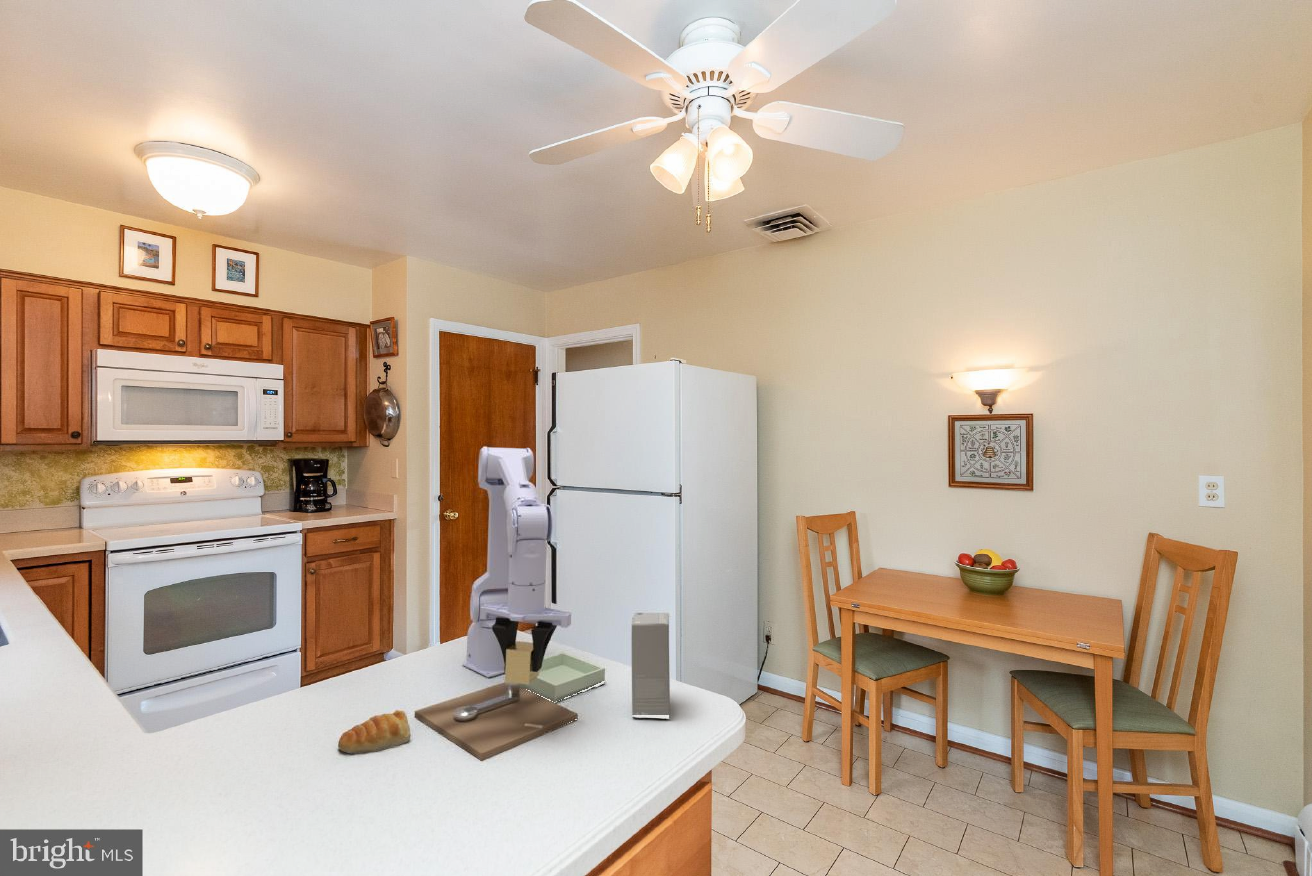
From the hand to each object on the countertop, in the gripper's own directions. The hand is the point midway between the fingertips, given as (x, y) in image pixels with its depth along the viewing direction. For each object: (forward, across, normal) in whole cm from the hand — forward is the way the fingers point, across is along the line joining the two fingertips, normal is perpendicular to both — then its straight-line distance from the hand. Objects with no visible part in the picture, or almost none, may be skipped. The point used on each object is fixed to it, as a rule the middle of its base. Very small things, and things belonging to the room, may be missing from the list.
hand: (523, 668), depth 95 cm
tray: (+9, 0, +18) cm, 20 cm away
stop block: (+2, 0, 0) cm, 2 cm away
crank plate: (+9, -5, +2) cm, 11 cm away
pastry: (+10, -18, -10) cm, 23 cm away
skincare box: (+10, +18, +12) cm, 24 cm away
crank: (+8, -7, +2) cm, 11 cm away
